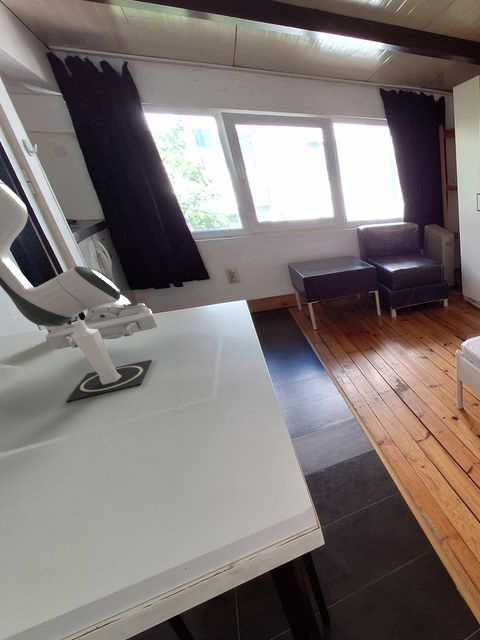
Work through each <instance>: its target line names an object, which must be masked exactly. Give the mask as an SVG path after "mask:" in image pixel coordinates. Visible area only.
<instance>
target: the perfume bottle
mask: <svg viewBox="0 0 480 640" xmlns="http://www.w3.org/2000/svg"><path fill="white" fill-rule="evenodd" d="M71 324H73V326H74V328H75V329H76V332H75V333H73V334H72V335H71V337H72V338H73V339H74V341H75V342H76V344H77V345H78V347H77V348H79V350H80V351H81V353H83V355H84V356H85V358H86V359H87V361H88V363H89V364H90V365H91V366H92V368H93V369H94V372H97V373H98V375H99V377H100V381H101V383H102V384H103V385H104V384H108V383H112V382H115V381H117V380H119V379H120V378H121V377H122V376H121V375H120V374H119V373H118V372H117V371H116V369H115V367H116V366H115V365H114V362H113V359H112V357H111V355H110V354H109V350H108V348H107V347H106V345H105V342H104V339H103V340H102V337H101V335H100V333H99V331H98V330H97V329H88V328H87V326H86V324H85V323H84V319H83V320H82V319H80V321H76V322H72V323H71Z"/></svg>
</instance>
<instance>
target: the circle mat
mask: <svg viewBox="0 0 480 640" xmlns="http://www.w3.org/2000/svg"><path fill="white" fill-rule="evenodd" d="M152 362H153V360H152V359H147V360H143V361H139V362H134V363H129V364H125V365H120V366H114V367H115V369H116V371H117V372H118V373H119V374H120V375H121V376H122V377H121V378H120V379H119V380H117V381H115V382H112V383H108V384H104V385H103V384H102V383H101V381H100V377H99V375H98V373H97V372H96V371H93V372H88V373H86V375H85V376H84V377H83V379H82V380H81V381H80V382H79V384H78V385H77V386H76V387H75V389H74V390H73V392H72V393H71V394H70V395H69V397H68V398H67V399H66V403H71V402H75V401H76V402H77V401H79V400H83V399H88V398H92V397H96V396H101V395H104V394H108V393H112V392H117V391H121V390H126V389H130V388H133V387H139V386H141V385H142V383H143V381H144V379H145V377H146V375H147V373H148V370H149V369H150V366H151V364H152Z"/></svg>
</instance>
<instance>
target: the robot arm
mask: <svg viewBox="0 0 480 640" xmlns="http://www.w3.org/2000/svg"><path fill="white" fill-rule="evenodd" d="M27 208H28V207H27V206H26V204H25V203H24V202H23V201H22V199H21V198H20V197H19V196H18V195H17V194H16V193H15V192H14V191H13V189H11V188H10V187H9V186H8V185H7V184H5V182H4V181H2V179H0V287H1V289H2V290H3V291H4V292H5V293H6V294H7V295H8V297H9V298H10V299H11V301H12V302H13V305H14V306H15V307H16V308H17V310H18V311H19V312H20V314H21V315H22V316H23V317H24V318H26V319H27V320H28V321H30V322H31V323H32V324H35V325H37V326H42V327H45V326H62V325H64V324H65V323H67V322H68V321H70V320H71V319H72V318H74V316H76V315H78V316H79V314H81V313H83V312H85V311H87V310H88V312H87V313H86V315H85V317H84V319H83V320H84V323H85V324H86V326H87V328H88V329H97V330H98V331H99V333H100V335H101V337H102V340H103V341H104V340H115V339H120V338H122V337H129V336H133V335H134V334H135V333H139V332H145V331H148V330H153V329H155V328H158V327H159V326H158V323H157V320H156V318H155V316H154V313H153V312H152V310H151V309H150V308H148V307H147V305H146V304H145V303H144V302H140V303H132V302H131V301H130V300H129V299H128V298H127V297H125V296H124V295H122V294H121V290H120V288H119V286H118V285H117V284H116V283H115V282H114V281H112V279H110V278H109V277H108V276H107V275H105V273H102V272H100V271H99V270H97V269H94V268H92V267H91V268H90V267H86V266H81V265H78V266H76V265H75V266H74V267H72V268H69V269H68V270H66V271H64V272H61V273H60V274H58V275H56V276H55V277H53V278H51V279H48V281H46V282H44V283H42V284H40V285H38V286H36V287H35V286H33V285H32V284H31V282H30V281H29V280H28V279H27V278H26V276H25V275H24V274H23V273H22V272H21V271H20V270H19V268H18V267H17V266H16V265H15V263H14V262H13V261H12V259H11V258H10V248H11V246H12V244H13V243H14V241H15V239H16V238H17V237H18V236H19V235H20V234H21V232H22V231H23V230H24V228H25V227H26V224H27V222H28V218H29V217H28V216H29V213H28V209H27ZM75 332H76V329H75V328H74V326H73V324H71V325H66V326H62V327H58V328H56V329H54V330H52V331H51V332H50V333H49V332H48V333H47V334H46V335H45V340H46V342H47V343H48V345H49V346H50V348H51V349H53V350H60V349H66V348H70V347H71V348H72V349H75V348H79V347H78V345H77V344H76V342H75V341H74V339H73V338H72V337H71V335H72V334H73V333H75Z"/></svg>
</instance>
